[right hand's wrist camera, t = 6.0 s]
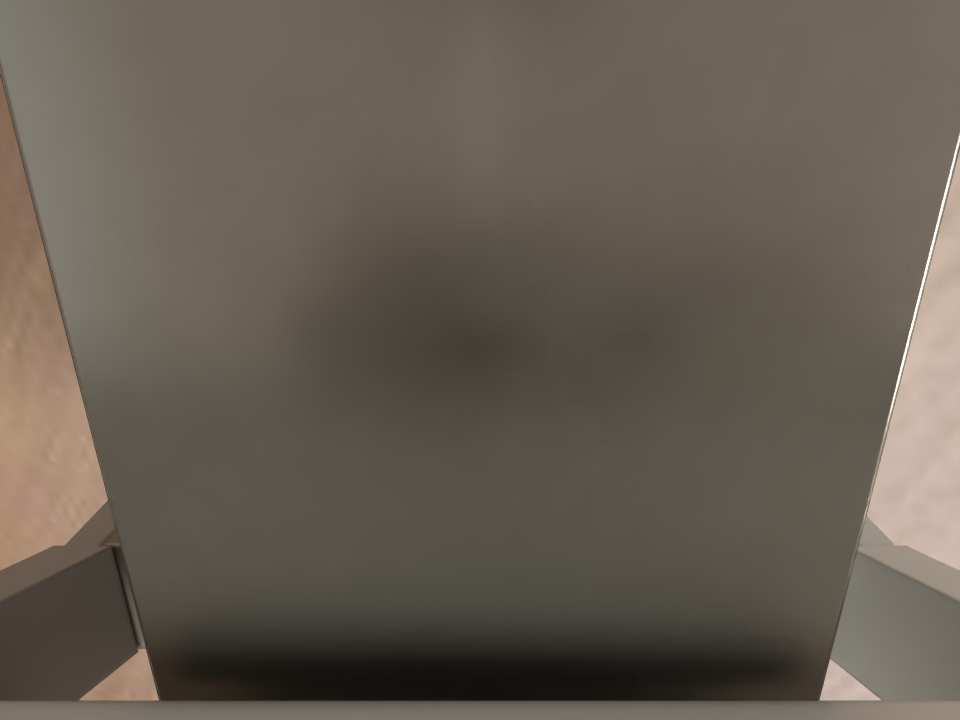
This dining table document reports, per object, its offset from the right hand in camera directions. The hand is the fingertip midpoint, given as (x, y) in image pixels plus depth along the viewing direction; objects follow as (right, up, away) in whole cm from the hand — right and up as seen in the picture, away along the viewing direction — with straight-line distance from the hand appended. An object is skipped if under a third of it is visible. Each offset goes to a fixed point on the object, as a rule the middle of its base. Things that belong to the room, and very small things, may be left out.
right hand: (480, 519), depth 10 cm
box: (0, +10, +4) cm, 11 cm away
